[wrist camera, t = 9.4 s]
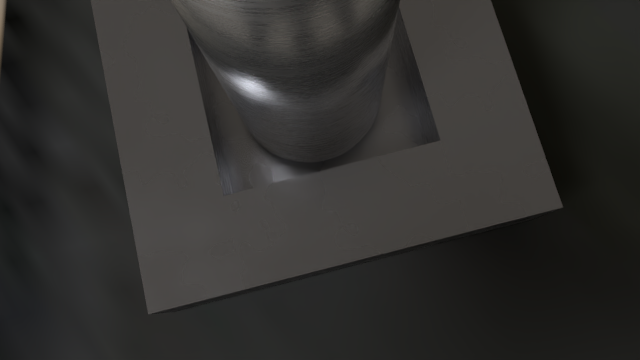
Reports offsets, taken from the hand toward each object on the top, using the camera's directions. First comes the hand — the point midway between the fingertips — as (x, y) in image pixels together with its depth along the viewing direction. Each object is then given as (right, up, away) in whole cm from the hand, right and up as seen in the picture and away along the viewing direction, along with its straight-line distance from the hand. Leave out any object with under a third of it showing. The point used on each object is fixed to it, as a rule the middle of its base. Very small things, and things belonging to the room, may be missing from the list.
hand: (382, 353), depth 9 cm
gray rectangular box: (-3, +12, +12) cm, 17 cm away
